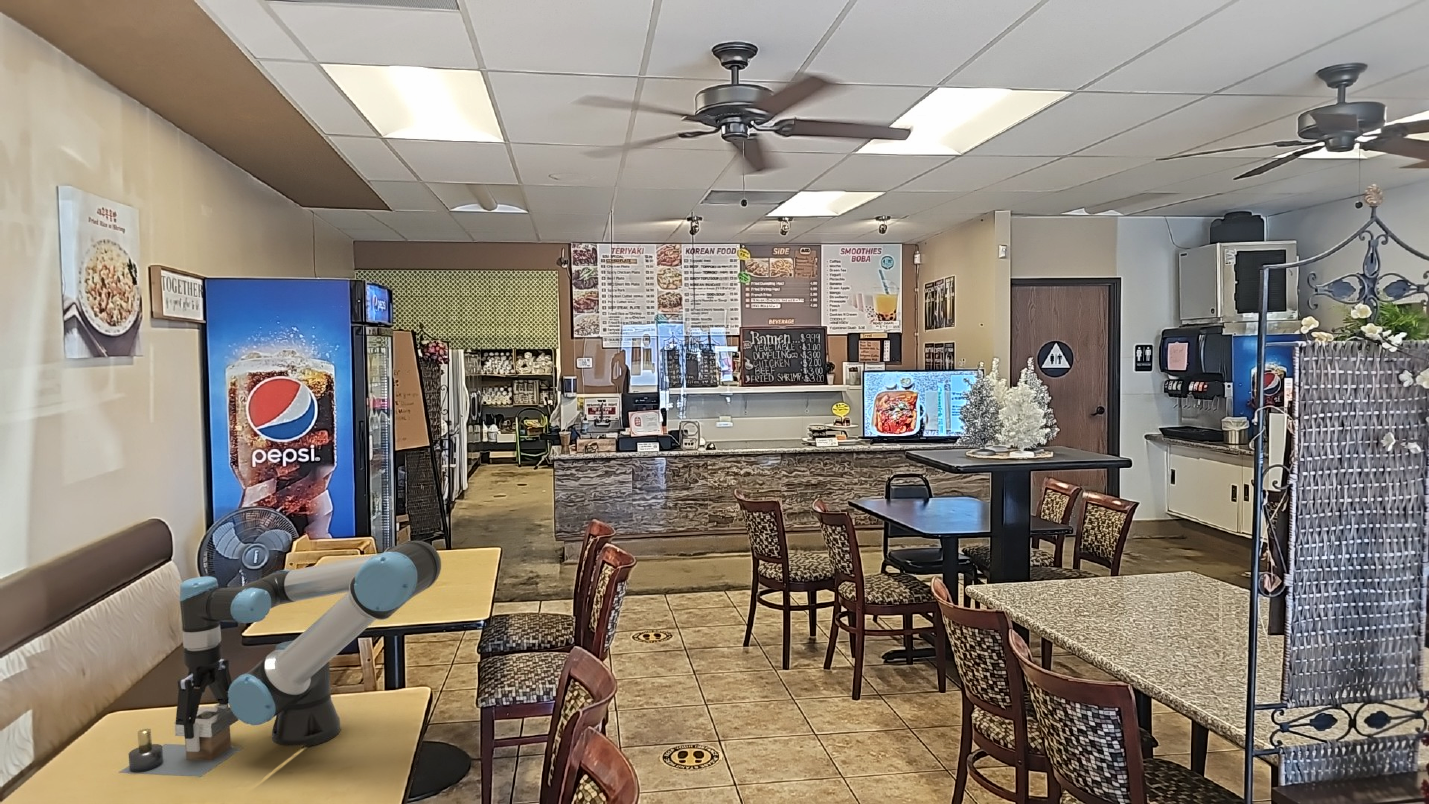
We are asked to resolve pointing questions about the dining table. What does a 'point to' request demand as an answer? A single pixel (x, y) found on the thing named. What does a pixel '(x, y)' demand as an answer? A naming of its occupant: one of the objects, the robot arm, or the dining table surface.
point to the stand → (211, 743)
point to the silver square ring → (211, 721)
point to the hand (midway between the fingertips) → (208, 741)
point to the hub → (145, 754)
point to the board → (184, 762)
